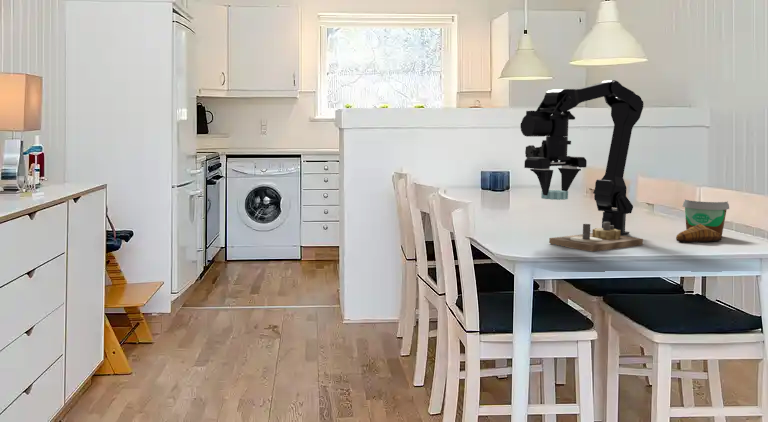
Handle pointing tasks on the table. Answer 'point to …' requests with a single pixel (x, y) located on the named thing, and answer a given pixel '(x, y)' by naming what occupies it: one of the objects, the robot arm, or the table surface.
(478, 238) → the table surface
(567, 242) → the gear board
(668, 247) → the table surface
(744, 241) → the table surface
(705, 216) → the food container
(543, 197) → the teal gear
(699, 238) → the croissant
